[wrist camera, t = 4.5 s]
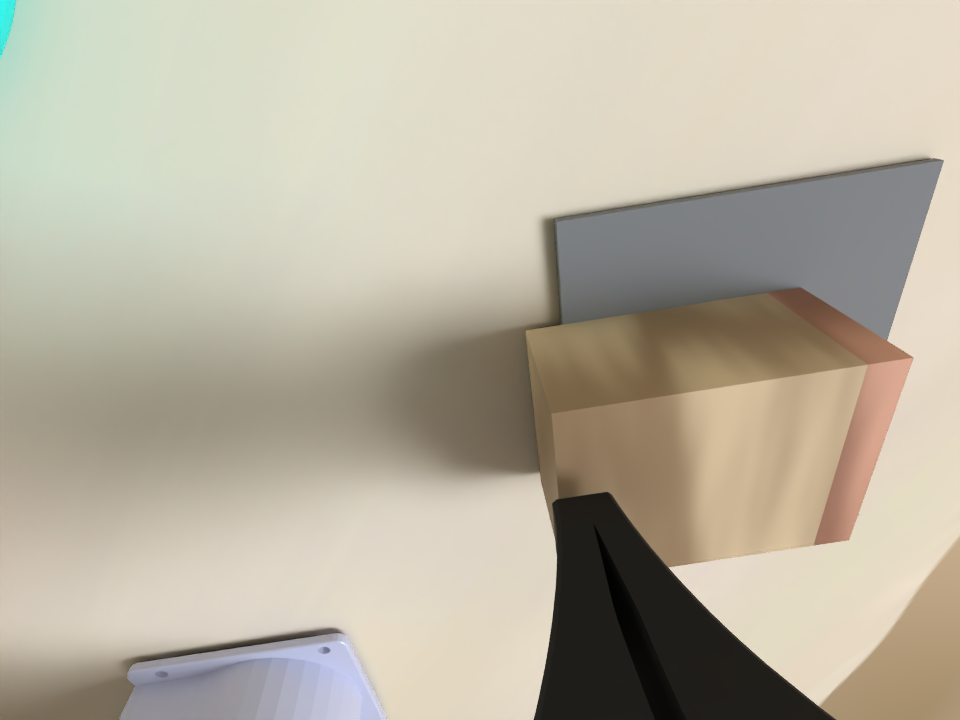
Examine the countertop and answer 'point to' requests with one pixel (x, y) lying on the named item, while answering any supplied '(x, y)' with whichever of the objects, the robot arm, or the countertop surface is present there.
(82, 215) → the countertop surface
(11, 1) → the donuts
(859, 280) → the rubber mat
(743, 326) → the oak block
